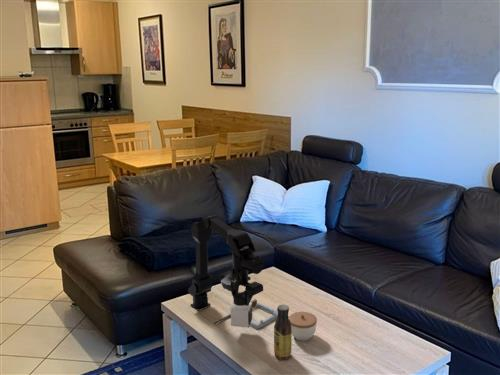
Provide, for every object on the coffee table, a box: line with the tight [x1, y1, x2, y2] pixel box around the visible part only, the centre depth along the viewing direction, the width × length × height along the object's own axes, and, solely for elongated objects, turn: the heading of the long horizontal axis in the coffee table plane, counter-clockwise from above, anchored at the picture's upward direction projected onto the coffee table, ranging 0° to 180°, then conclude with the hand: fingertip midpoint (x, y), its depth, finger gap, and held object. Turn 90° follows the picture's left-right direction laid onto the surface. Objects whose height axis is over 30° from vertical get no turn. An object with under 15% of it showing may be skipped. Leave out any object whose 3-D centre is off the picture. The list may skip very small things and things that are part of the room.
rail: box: [213, 313, 231, 325], centre depth 207 cm, size 1×23×1 cm, turn 136°
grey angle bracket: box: [249, 302, 278, 330], centre depth 203 cm, size 12×14×2 cm
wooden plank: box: [250, 298, 258, 308], centre depth 209 cm, size 1×14×2 cm, turn 135°
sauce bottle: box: [273, 304, 293, 361], centre depth 174 cm, size 6×6×20 cm
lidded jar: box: [288, 311, 318, 342], centre depth 187 cm, size 11×11×9 cm
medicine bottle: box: [230, 291, 253, 328], centre depth 190 cm, size 7×7×12 cm
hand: (241, 302), depth 189 cm, fingers closed on medicine bottle, 6 cm apart
